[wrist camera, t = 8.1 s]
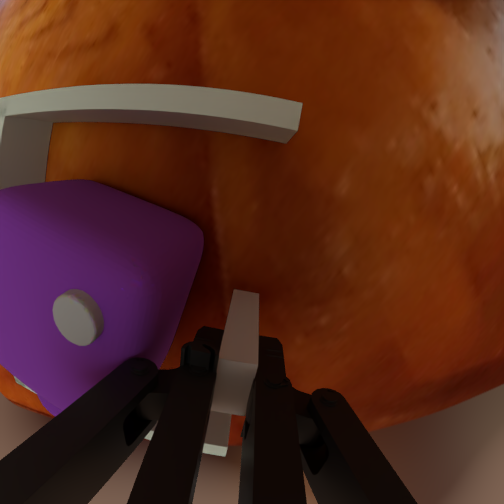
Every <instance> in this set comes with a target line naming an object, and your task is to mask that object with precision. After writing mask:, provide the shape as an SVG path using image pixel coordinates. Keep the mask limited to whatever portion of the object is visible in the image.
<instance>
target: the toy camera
mask: <svg viewBox="0 0 504 504" xmlns="http://www.w3.org/2000/svg"><path fill="white" fill-rule="evenodd" d="M203 246H204V236H203V232H202V230H201V229H200V228H199V227H198V226H197V225H196V224H195V223H193V222H192V221H190V220H189V219H187V218H185V217H183V216H181V215H178V214H176V213H174V212H171V211H169V210H167V209H164V208H162V207H159V206H157V205H154V204H152V203H149V202H147V201H144V200H142V199H139V198H137V197H134V196H132V195H129V194H127V193H124V192H122V191H119V190H117V189H114V188H111V187H109V186H106V185H103V184H101V183H98V182H94V181H90V180H81V179H80V180H64V181H53V182H43V183H34V184H25V185H19V186H12V187H8V188H4V189H1V190H0V364H1V365H2V366H3V367H5V368H6V369H7V370H8V371H9V372H10V373H11V374H12V375H14V376H15V377H16V378H17V379H19V380H20V381H21V382H22V383H24V384H25V385H26V386H27V387H29V388H30V389H31V390H33V391H34V392H35V393H37V395H38V397H39V399H40V401H41V403H42V404H43V405H44V407H45V408H46V409H47V410H48V411H49V412H50V413H51V414H53V415H54V416H55V417H56V416H57V415H58V414H59V413H61V412H62V411H63V410H64V409H66V408H67V407H68V406H69V405H71V404H72V403H73V402H74V401H76V400H77V399H78V398H79V397H81V396H82V395H83V394H84V393H86V392H87V391H88V390H89V389H91V388H92V387H93V386H94V385H96V384H97V383H98V382H99V381H101V380H102V379H103V378H104V377H106V376H107V375H108V374H109V373H111V372H112V371H113V370H114V369H116V368H117V367H118V366H119V365H121V364H122V363H123V362H124V361H126V360H128V359H130V358H135V357H139V358H146V359H149V360H151V361H152V362H154V363H155V364H156V366H157V367H158V369H159V368H160V367H161V365H162V363H163V361H164V359H165V357H166V355H167V353H168V351H169V349H170V346H171V344H172V341H173V339H174V336H175V333H176V330H177V327H178V324H179V321H180V318H181V315H182V312H183V309H184V307H185V304H186V301H187V298H188V295H189V292H190V289H191V286H192V283H193V281H194V278H195V275H196V272H197V269H198V266H199V263H200V260H201V256H202V252H203Z"/></svg>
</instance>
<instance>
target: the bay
mask: <svg viewBox="0 0 504 504" xmlns="http://www.w3.org/2000/svg"><path fill="white" fill-rule="evenodd" d="M302 105H303V103H300V102H295V101H291V100H286V99H281V98H276V97H270V96H265V95H259V94H253V93H247V92H240V91H233V90H225V89H217V88H208V87H197V86H184V85H167V84H103V85H86V86H74V87H64V88H56V89H48V90H41V91H34V92H28V93H23V94H17V95H12V96H8V97H3V98H0V190H1V189H4V188H8V187H12V186H19V185H25V184H34V183H43V182H45V175H46V166H47V157H48V150H49V143H50V137H51V131H52V125H53V123H56V122H115V123H137V124H152V125H164V126H175V127H185V128H194V129H202V130H210V131H217V132H224V133H230V134H237V135H243V136H249V137H254V138H260V139H265V140H271V141H276V142H281V143H285V144H286V143H287V142H288V141H289V140H290V139H291V138H292V137H293V135H294V134H295V133H296V132H297V131H298V126H299V121H300V115H301V110H302ZM14 378H15V380H16V382H17V383H18V384H20V385H22V386H24V387H25V388H27V389H29V390H31V389H30V388H29V387H27V386H26V385H25V384H24V383H22V382H21V381H20V380H19V379H17V378H16V377H15V376H14ZM31 391H32V392H34V391H33V390H31ZM34 393H35V392H34ZM36 394H37V393H36ZM230 422H231V414H228V413H223V412H217V411H212V410H211V411H210V417H209V422H208V427H207V432H206V437H205V442H204V447H203V453H208V454H214V455H220V456H225V455H226V451H227V447H228V439H229V431H230ZM157 423H158V421H157ZM157 423H156V425H157ZM156 425H155V426H154V427H153V428H152V429H151V431H150V432H149V433H148V434H147V435H146V437H145V439H149V440H151V438H152V435H153V433H154V430H155V428H156Z"/></svg>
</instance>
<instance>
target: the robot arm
mask: <svg viewBox="0 0 504 504" xmlns="http://www.w3.org/2000/svg"><path fill="white" fill-rule="evenodd" d="M211 410H212V411H217V412H223V413H228V414H235V415H241V416H245V414H246V418H245V422H244V426H243V429H242V433H241V436H240V437H243V442H242V457H241V472H240V486H239V500H238V504H307V503H306V494H305V485H304V477H303V471H304V473H305V476H306V478H307V480H308V483H309V485H310V487H311V489H312V492H313V494H314V496H315V498H316V500H317V502H318V504H417V502H416V501H415V499H414V498H413V497H412V495H411V494H410V492H409V491H408V489H407V488H406V486H405V485H404V484H403V482H402V481H401V479H400V478H399V476H398V475H397V473H396V472H395V471H394V469H393V468H392V466H391V465H390V463H389V462H388V460H387V459H386V458H385V456H384V455H383V453H382V452H381V450H380V449H379V447H378V446H377V445H376V443H375V442H374V440H373V439H372V437H371V436H370V434H369V433H368V431H367V430H366V429H365V427H364V426H363V424H362V423H361V421H360V420H359V418H358V417H357V415H356V414H355V413H354V411H353V410H352V408H351V407H350V405H349V404H348V402H347V401H346V399H345V398H344V397H343V396H342V395H341V394H340V393H339V392H337V391H335V390H332V389H328V388H321V389H317V390H315V391H314V392H313V393H312V395H310V394H307V393H304V392H301V391H298V390H296V389H295V388H293V387H292V384H291V382H290V380H289V379H288V378H287V377H286V373H285V364H284V356H283V347H282V344H281V343H280V341H279V340H278V339H277V338H272V337H265V336H259V293H253V292H248V291H242V290H237V289H234V291H233V295H232V299H231V304H230V308H229V312H228V317H227V321H226V326H225V330H221V329H216V328H211V327H206V326H203V327H202V328H201V329H199V330H198V331H197V333H196V336H195V338H194V341H193V342H188V343H186V344H184V345H183V346H182V349H181V362H180V367H178V368H176V369H170V370H160V369H158V367H157V366H156V364H155V363H154V362H152V361H151V360H149V359H146V358H139V357H135V358H130V359H128V360H126V361H124V362H123V363H122V364H121V365H119V366H118V367H117V368H116V369H114V370H113V371H112V372H111V373H109V374H108V375H107V376H106V377H104V378H103V379H102V380H101V381H99V382H98V383H97V384H96V385H94V386H93V387H92V388H91V389H89V390H88V391H87V392H86V393H84V394H83V395H82V396H81V397H79V398H78V399H77V400H76V401H74V402H73V403H72V404H71V405H69V406H68V407H67V408H66V409H64V410H63V411H62V412H61V413H59V414H58V415H57V416H56V417H54V418H53V419H52V420H51V421H50V422H48V423H47V424H46V425H45V426H43V427H42V428H41V429H39V430H38V431H37V432H36V433H34V434H33V435H32V436H31V437H29V438H28V439H27V440H25V441H24V442H23V443H22V444H21V445H19V446H18V447H17V448H16V449H14V450H13V451H12V452H10V453H9V454H8V455H7V456H5V457H4V458H3V459H1V460H0V504H88V503H89V502H90V500H91V499H92V498H93V497H94V496H95V495H96V494H97V492H98V491H99V490H100V489H101V488H102V487H103V486H104V484H105V483H106V482H107V481H108V480H109V479H110V478H111V476H112V475H113V474H114V473H115V472H116V471H117V470H118V469H119V467H120V466H121V465H122V464H123V463H124V462H125V460H126V459H127V458H128V457H129V456H130V454H131V453H132V452H133V451H134V450H135V448H136V447H137V446H138V445H139V444H140V443H141V441H142V440H143V439H144V438H145V437H146V435H147V434H148V433H149V432H150V431H151V429H152V428H153V427H154V426H155V425H156V423H157V421H158V423H157V425H156V428H155V430H154V433H153V435H152V438H151V441H150V444H149V446H148V449H147V451H146V454H145V456H144V459H143V462H142V465H141V467H140V470H139V472H138V475H137V478H136V480H135V483H134V486H133V489H132V491H131V494H130V497H129V499H128V503H127V504H192V502H193V497H194V492H195V487H196V482H197V477H198V472H199V467H200V462H201V457H202V452H203V447H204V442H205V437H206V432H207V427H208V422H209V417H210V411H211Z"/></svg>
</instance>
